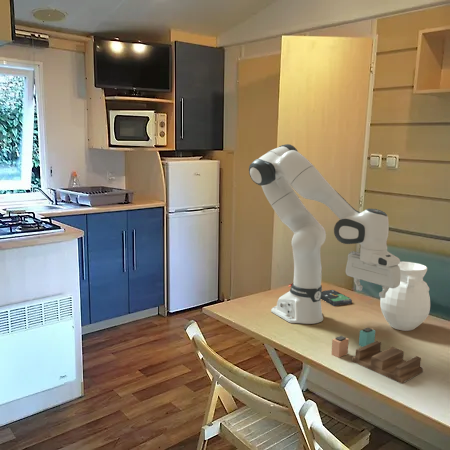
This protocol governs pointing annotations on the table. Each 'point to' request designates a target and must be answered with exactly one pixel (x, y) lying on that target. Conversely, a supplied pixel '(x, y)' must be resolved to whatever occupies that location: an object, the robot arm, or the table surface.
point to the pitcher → (407, 298)
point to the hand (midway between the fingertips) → (370, 293)
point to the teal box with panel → (366, 337)
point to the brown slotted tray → (388, 362)
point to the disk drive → (335, 298)
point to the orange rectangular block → (340, 346)
